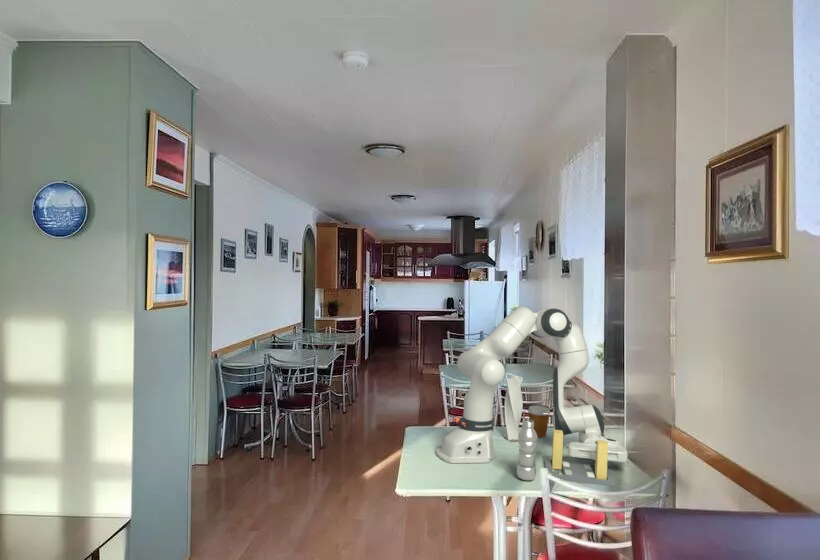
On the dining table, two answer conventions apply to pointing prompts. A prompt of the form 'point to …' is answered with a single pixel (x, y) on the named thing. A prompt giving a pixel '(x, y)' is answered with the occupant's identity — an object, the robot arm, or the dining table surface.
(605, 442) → the yellow bar
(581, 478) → the switch bank
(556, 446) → the yellow rectangular block
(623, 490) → the dining table surface
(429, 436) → the dining table surface
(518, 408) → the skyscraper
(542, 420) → the disposable coffee cup
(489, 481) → the dining table surface
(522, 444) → the plastic bottle
